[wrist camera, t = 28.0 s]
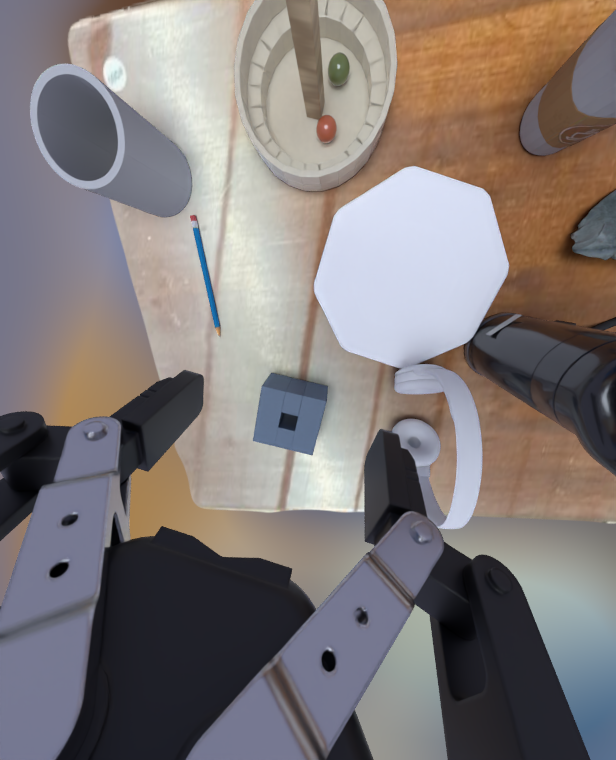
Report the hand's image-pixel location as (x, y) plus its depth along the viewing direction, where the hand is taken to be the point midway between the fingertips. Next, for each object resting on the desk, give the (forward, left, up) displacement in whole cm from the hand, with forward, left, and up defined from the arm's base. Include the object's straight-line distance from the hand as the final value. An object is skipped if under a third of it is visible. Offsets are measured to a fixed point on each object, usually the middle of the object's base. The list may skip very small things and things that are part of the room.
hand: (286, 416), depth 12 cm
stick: (-4, -24, -30) cm, 39 cm away
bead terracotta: (-5, -22, -29) cm, 36 cm away
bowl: (-4, -24, -30) cm, 39 cm away
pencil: (+16, -9, -31) cm, 36 cm away
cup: (+18, -23, -30) cm, 42 cm away
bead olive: (-7, -26, -28) cm, 39 cm away
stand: (+8, +13, -30) cm, 34 cm away
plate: (-12, -3, -30) cm, 33 cm away
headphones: (-11, +16, -30) cm, 36 cm away
